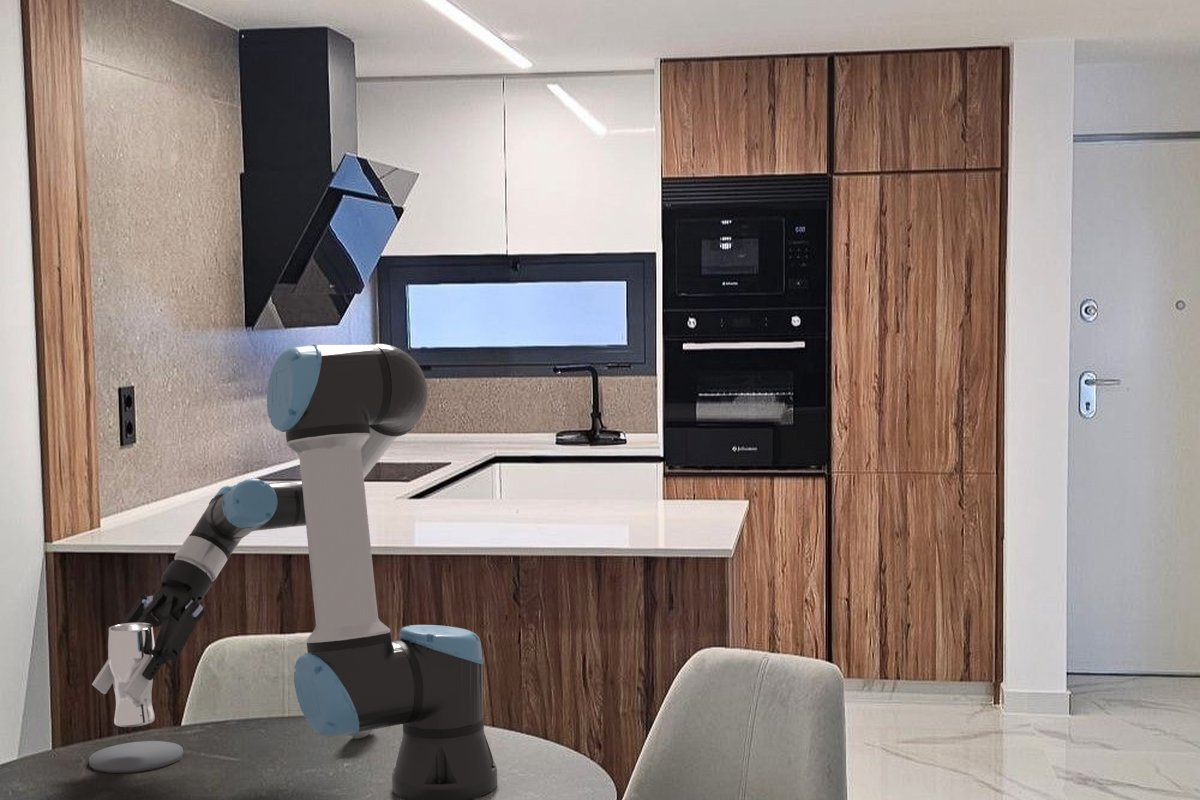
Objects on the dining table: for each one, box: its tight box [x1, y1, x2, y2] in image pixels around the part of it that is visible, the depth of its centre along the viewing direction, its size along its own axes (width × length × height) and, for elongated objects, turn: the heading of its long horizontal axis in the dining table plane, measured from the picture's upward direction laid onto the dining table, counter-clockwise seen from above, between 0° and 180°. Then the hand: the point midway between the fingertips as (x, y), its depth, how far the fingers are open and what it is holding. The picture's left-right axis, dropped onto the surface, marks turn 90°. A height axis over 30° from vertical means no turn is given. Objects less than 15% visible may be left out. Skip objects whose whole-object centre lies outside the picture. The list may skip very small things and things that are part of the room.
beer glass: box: [107, 622, 156, 728], centre depth 228 cm, size 7×7×15 cm
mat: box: [88, 740, 184, 774], centre depth 228 cm, size 14×14×1 cm
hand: (114, 692), depth 225 cm, fingers closed on beer glass, 7 cm apart
